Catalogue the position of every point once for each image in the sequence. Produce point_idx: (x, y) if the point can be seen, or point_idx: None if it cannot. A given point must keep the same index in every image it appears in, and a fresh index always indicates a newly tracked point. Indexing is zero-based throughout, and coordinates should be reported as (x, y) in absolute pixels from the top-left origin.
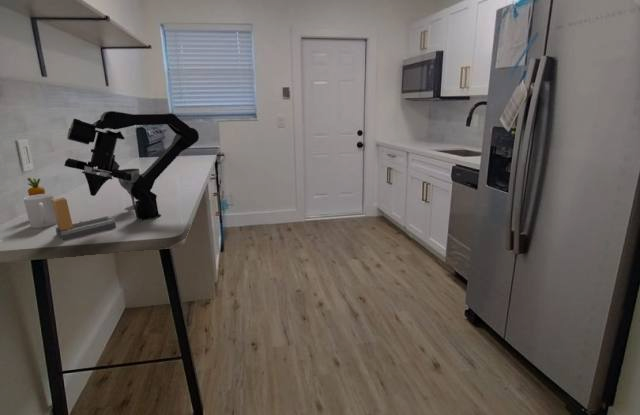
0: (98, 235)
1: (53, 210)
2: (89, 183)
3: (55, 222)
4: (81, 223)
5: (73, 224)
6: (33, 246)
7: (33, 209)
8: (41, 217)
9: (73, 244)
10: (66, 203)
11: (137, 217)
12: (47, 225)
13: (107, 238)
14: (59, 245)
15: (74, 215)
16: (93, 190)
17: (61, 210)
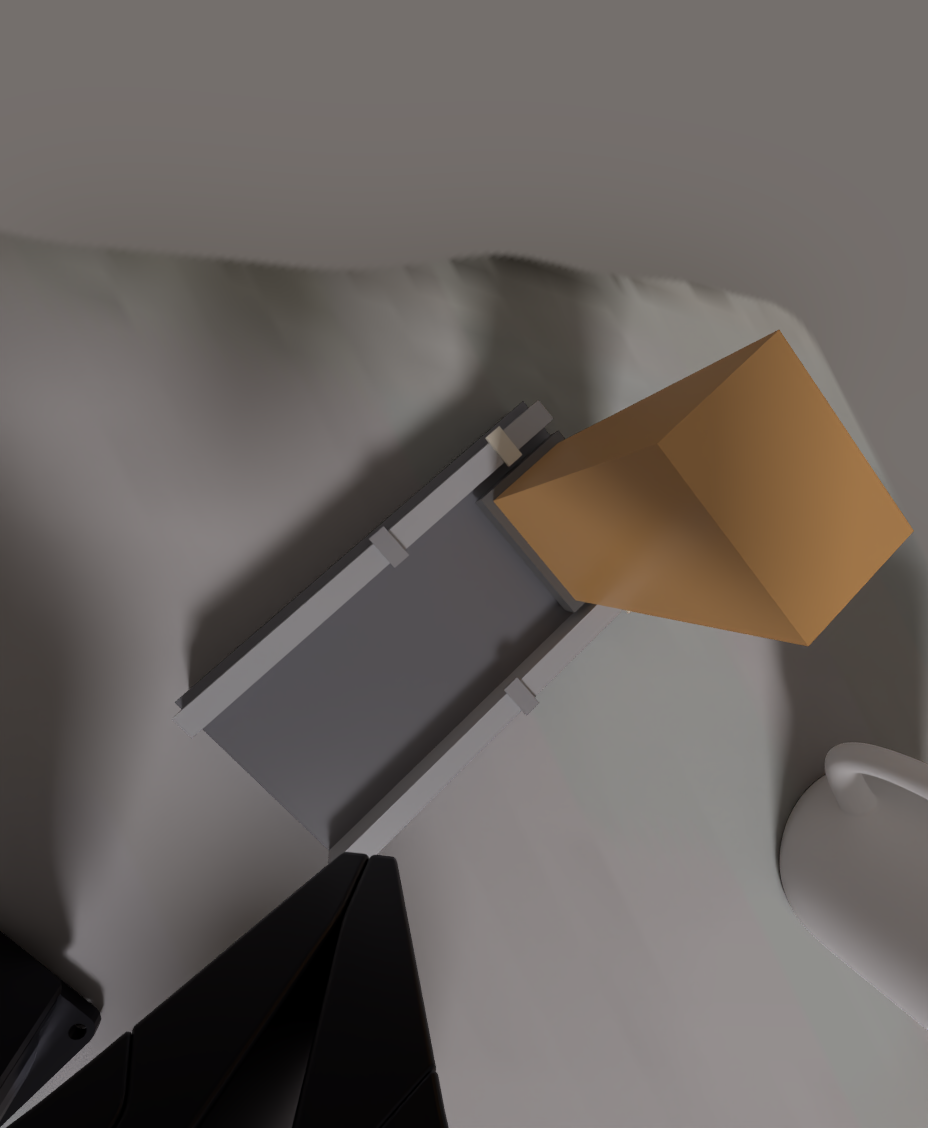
0: (257, 469)
1: (889, 925)
2: (379, 1117)
3: (790, 849)
4: (508, 685)
5: (558, 641)
6: (659, 326)
7: None
8: (903, 809)
9: (370, 277)
10: (625, 447)
11: (63, 986)
12: (813, 791)
13: (116, 355)
14: (476, 288)
15: (762, 1085)
16: (298, 922)
17: (635, 418)
